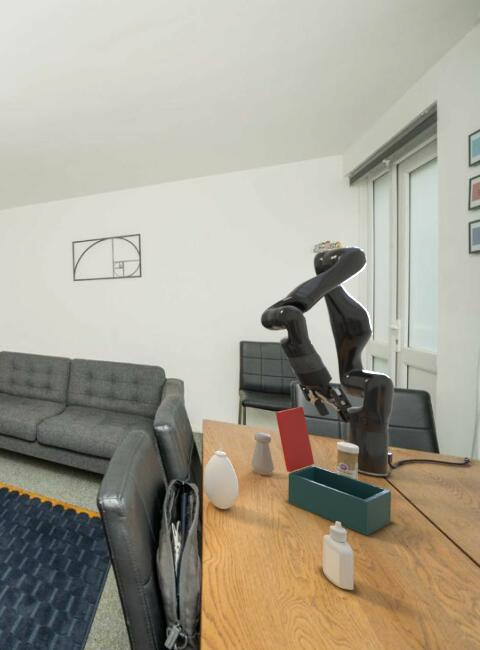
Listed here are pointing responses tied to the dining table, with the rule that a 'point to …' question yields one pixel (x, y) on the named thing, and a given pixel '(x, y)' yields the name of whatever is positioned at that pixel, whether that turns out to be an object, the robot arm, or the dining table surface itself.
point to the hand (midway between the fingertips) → (336, 418)
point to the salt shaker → (262, 455)
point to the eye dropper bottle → (338, 558)
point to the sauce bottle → (221, 481)
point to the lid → (294, 438)
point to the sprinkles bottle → (347, 459)
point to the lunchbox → (340, 498)
